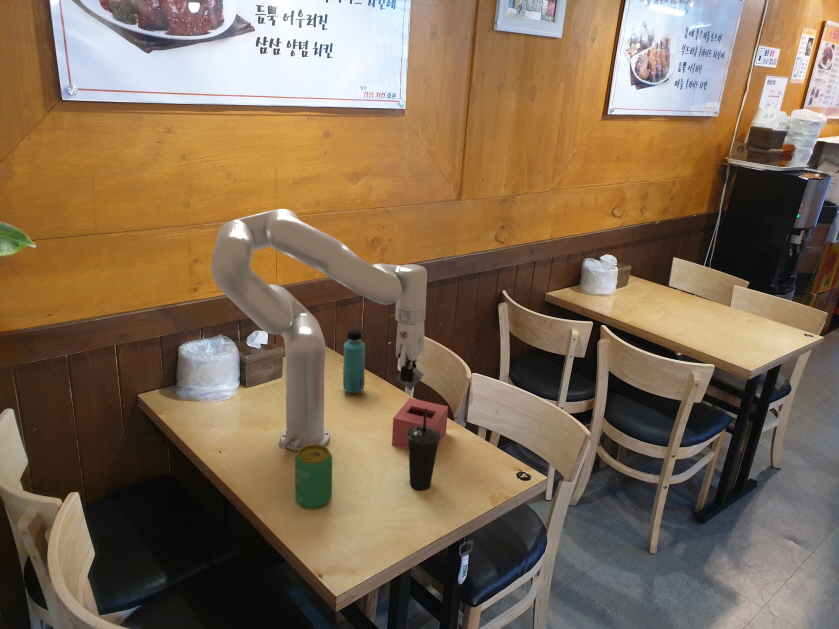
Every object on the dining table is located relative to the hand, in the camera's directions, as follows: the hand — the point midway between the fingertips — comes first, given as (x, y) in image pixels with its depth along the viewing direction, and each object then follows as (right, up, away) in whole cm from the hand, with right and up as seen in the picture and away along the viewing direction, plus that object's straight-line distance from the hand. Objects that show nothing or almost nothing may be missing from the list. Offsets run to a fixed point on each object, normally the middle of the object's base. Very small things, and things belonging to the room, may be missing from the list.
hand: (408, 378), depth 164 cm
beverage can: (-21, -25, -25) cm, 40 cm away
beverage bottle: (-17, -7, +24) cm, 30 cm away
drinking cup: (+3, -23, -17) cm, 29 cm away
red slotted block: (+3, -16, +2) cm, 17 cm away
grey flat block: (+2, -1, 0) cm, 3 cm away
